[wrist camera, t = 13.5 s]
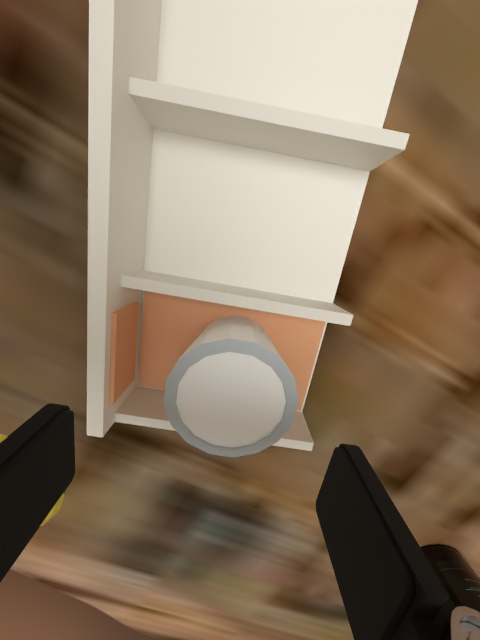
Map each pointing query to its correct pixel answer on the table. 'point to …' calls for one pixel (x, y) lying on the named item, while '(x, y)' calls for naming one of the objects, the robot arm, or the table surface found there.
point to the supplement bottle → (455, 575)
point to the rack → (226, 179)
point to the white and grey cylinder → (231, 390)
